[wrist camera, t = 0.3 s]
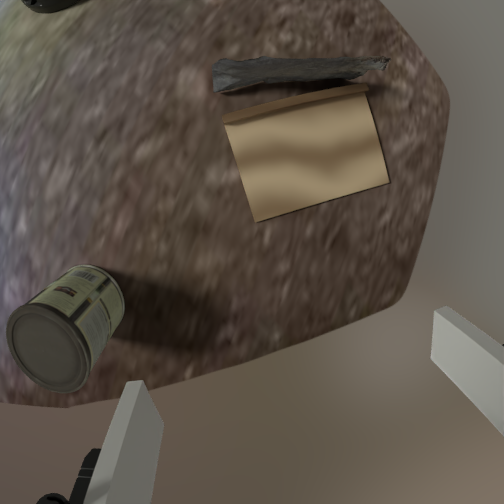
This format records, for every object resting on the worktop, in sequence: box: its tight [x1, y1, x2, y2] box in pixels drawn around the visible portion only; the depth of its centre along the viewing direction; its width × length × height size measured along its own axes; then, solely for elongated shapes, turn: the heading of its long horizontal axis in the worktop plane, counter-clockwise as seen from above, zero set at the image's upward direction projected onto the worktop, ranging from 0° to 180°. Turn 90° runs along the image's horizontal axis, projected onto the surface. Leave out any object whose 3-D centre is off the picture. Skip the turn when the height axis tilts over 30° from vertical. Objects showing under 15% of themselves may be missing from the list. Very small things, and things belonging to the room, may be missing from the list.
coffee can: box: [6, 265, 125, 393], centre depth 33 cm, size 10×10×14 cm
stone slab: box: [212, 56, 391, 92], centre depth 30 cm, size 18×2×10 cm, turn 98°
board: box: [222, 83, 389, 223], centre depth 36 cm, size 13×18×2 cm
